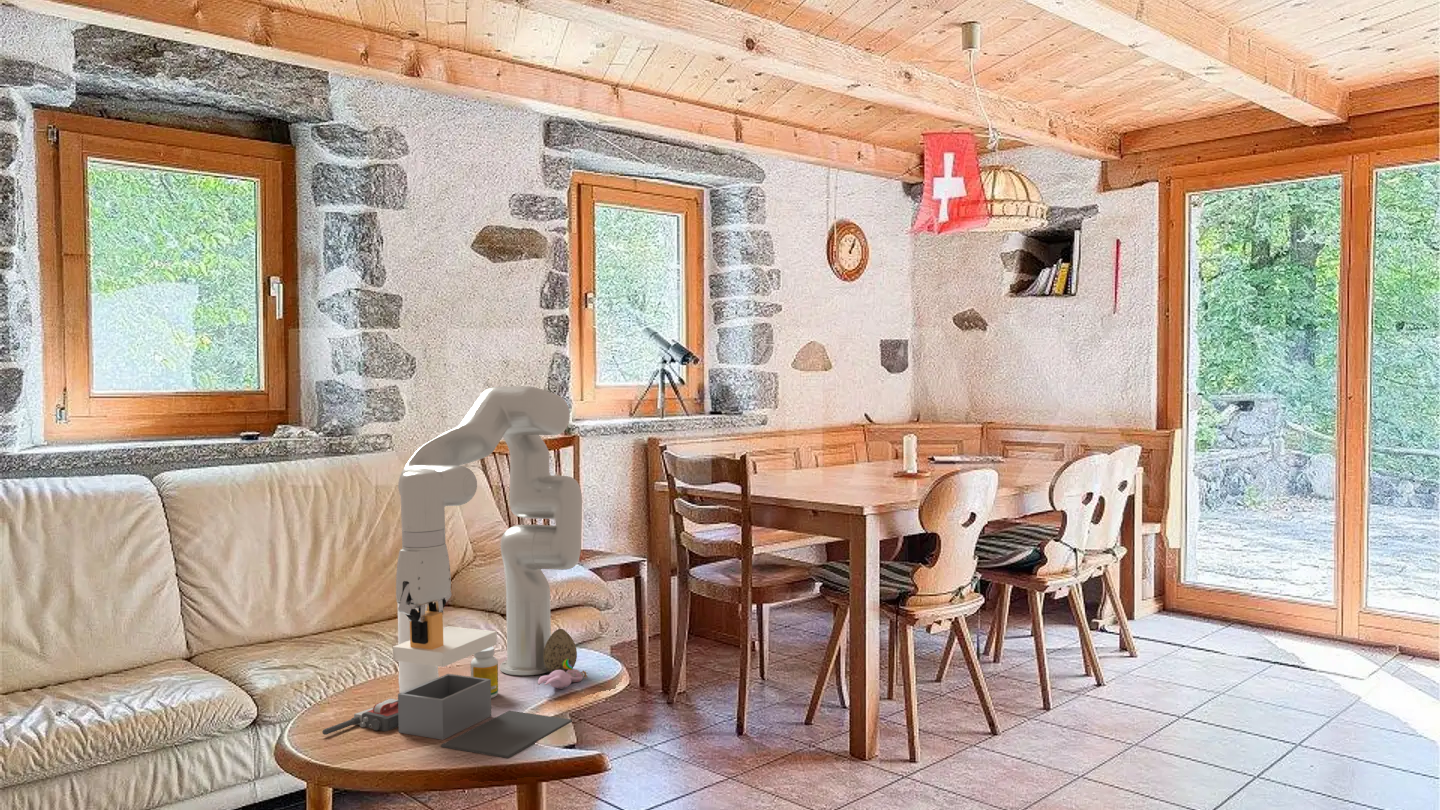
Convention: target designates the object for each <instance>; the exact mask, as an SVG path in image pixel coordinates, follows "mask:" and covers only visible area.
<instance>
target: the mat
mask: <svg viewBox="0 0 1440 810" xmlns="http://www.w3.org/2000/svg"><path fill="white" fill-rule="evenodd" d="M570 723H573V719H571V718H564V717H563V718H562V717H556V716H549V715H543V714H537V713H529V712H522V711H516V710H508V711H505V712H504V713H501V714H500V715H497V716H495V717H494V718H492V719H490V720H488V721H485V722H484V723H482V724H479V725H478V726H476V727H474V728H472V729H469V730H467V731H466V732H464V733H462V734H460V735H458V736H455V737H453V738H451V739H450V740H448V741H447V740H446V741H445V742H444V743H442V744H440V747H441V748H446V749H451V750H456V751H457V750H458V751H464V752H471V753H475V754H481V755H487V756H493V757H499V758H506V759H509V758H511V757H512V756H515V755H516V754H517V753H518V754H519V752H521V751H523V750H525V749H526V748H528V747H530V746H533V744H535V743H538V742H540V741H541V740H542V739H545V737H548V736H550V735H552V734H553V733H554V732H557V731H558V730H560V729H562V728H563V727H565V726H567V725H569V724H570Z"/></svg>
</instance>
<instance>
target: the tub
mask: <svg viewBox="0 0 1440 810" xmlns="http://www.w3.org/2000/svg"><path fill="white" fill-rule="evenodd" d="M397 700H398V723H399V727H398V734H399V733H400V734H405V735H411V736H418V737H425V738H430V739H437V740H442V741H443V740H445V739H448V738H450V737H452V736H454V735H456V734H458V733H460V732H462V731H464V730H466V729H468V728H470V727H472V726H474V725H476V724H478V723H480V722H482V721H484V720H486V719H489V718H490V717H492V698H491V679H484V678H477V677H471V676H468V675H467V676H466V675H460V674H453V673H446V674H444V675H442V676H439V678H436V679H434V680H431V681H429V682H427V683H424V684H422V685H419V686H417V687H414V688H412V689H409V690H407V691H404V692H402V693H400V692H399V693H398V694H397Z"/></svg>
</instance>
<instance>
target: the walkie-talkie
mask: <svg viewBox="0 0 1440 810" xmlns="http://www.w3.org/2000/svg"><path fill="white" fill-rule="evenodd" d="M356 725H357V726H358V725H359V727H361V728H367V729H373V731H374V732H375V731H382V732H388V731H391V730H394V729H395V728H396V729H397V728H399V723H398V699H395V698H389V699H386V700H383V701H380V702H377V703H375V705H373V707H371V708H368V709H365V710H363V711H359V712H356V713H354V714H353V717H352V718H351V719H349V720H346V721H342V722H341V723H338V724H335V725H332V726H330V727H327V728H324V729H323V730H322V731H321V732H322V734H323V735H324V736H326V735H329V734H331V733H335V732H337V731H340V730H342V729H345V728H348V727H350V726H356Z"/></svg>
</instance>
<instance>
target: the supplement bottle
mask: <svg viewBox="0 0 1440 810" xmlns="http://www.w3.org/2000/svg"><path fill="white" fill-rule="evenodd" d="M473 656H474V658H472V659H471V662H470V677H477V678H484V679H491V699H493V698H495V697H496V696H498V694H499V670H498V669H499V665H498V664H499V662H498V658H496V657H495V647H494V646H492V647H489V648H487V649H485V650H482V651H480V652H478V653H475V654H473Z"/></svg>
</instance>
